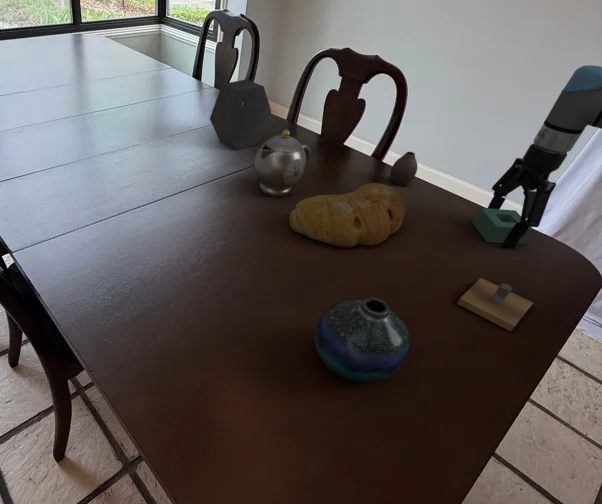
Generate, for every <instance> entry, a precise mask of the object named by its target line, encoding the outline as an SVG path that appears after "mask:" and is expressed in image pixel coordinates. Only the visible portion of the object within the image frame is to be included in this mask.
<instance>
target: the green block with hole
mask: <svg viewBox="0 0 602 504" xmlns="http://www.w3.org/2000/svg"><path fill="white" fill-rule="evenodd" d="M520 219H521V215H520V213H518V211H517V210H515V209H514V210H513V209H503V208H500V209H489V208H488V207H487V208H486V207H481V208H480V209H479V211H478V212H477V215H476V216H475V218H474V220H473V222H472V225H473V226H474V228H475V229H476V230H477V231H478V233H479V234H480V235H481V237H482V238H483V239H484V240H485V242H486V243H497V244H503V243H504V241H505V239H506V238H507V236H508V235H509V233H510V232H511V230H512V229H513V227H514V226H515V224H516V222H520ZM532 231H533V227H529V228H528V230H527V231H526V233H525V234H524V235H523V237H522V238H520V239H519V241H518V242H517V244H516V245H523V244H524V243H525V241H526V239H527V238H528V237H529V235H530V234H531V232H532Z"/></svg>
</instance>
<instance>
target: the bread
mask: <svg viewBox="0 0 602 504" xmlns="http://www.w3.org/2000/svg"><path fill="white" fill-rule="evenodd" d="M406 211H407V206H406V202H405V200H404V198H403V197H402V195H401V194H400V193H399V192H398V191H397V190H396V189H394V188H393V187H392V186H390V185H388V184H384V183H379V182H377V183H376V182H371V183H364V184H363V185H361V186H359V187H358V188H356V189H355V190H353V191H351V192H347V193H342V194H319V195H316V196H312V197H306V198H304V199H301V200H300V201H299V202H297V203H296V205H295V208H294V209H293V210H292V211H290V214H289V218H288V219H289V221H288V222H289V226H290V228H291V229H292V230H293V231H294V232H296V233H298V234H301V235H304V236H305V237H307V238H309V239H312V240H315V241H319V242H322V243H325V244H328V245H330V246H334V247H340V248H352V247H355V246H356V245H358V244H360V245H362V246H376V245H379V244H380V243H383V242H385V241H386V240H387V239H388V237H389V236H391V235H393V234H395V233H396V232H397V231H398V230H399V229H400V228H401V227H402V224H403V222H404V220H405V215H406Z"/></svg>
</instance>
